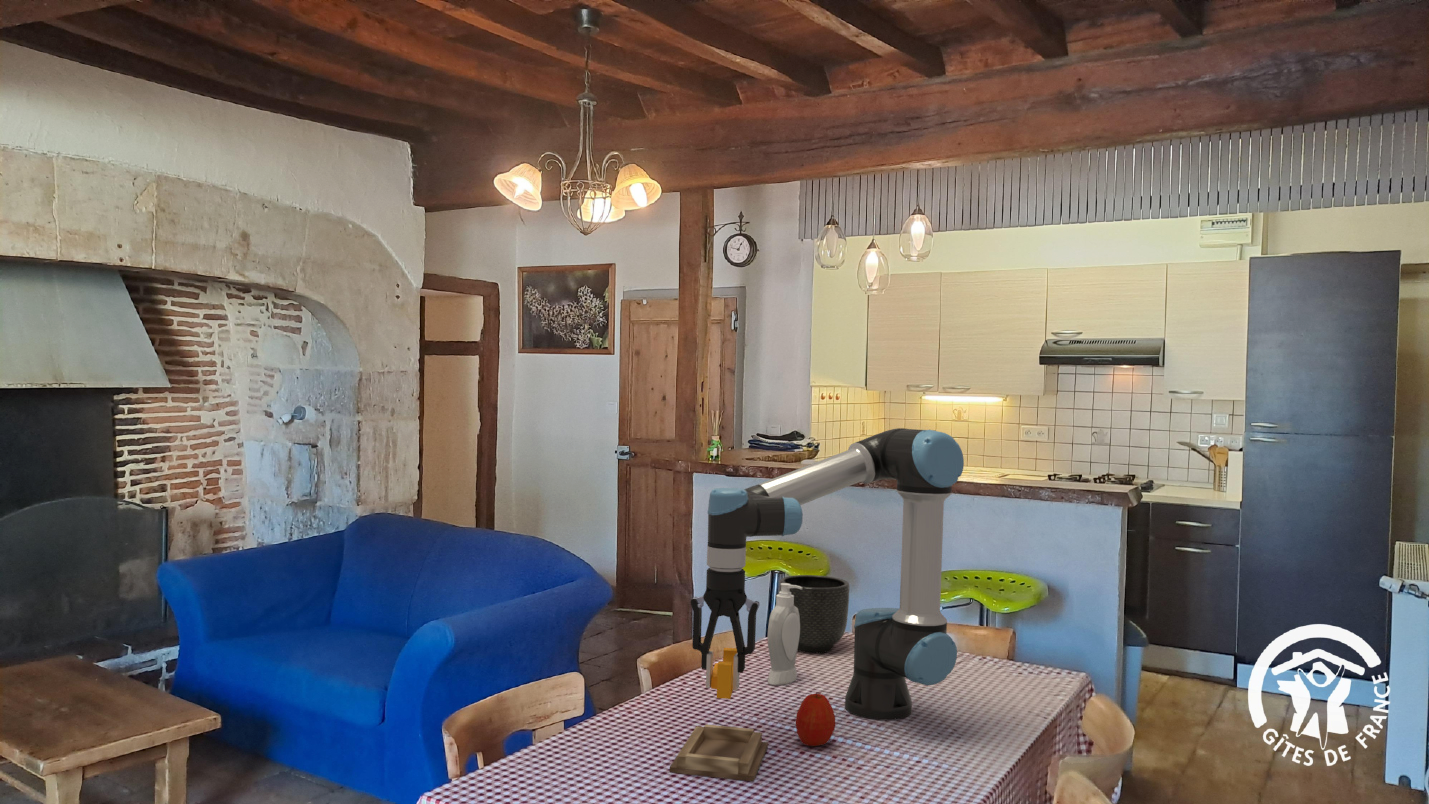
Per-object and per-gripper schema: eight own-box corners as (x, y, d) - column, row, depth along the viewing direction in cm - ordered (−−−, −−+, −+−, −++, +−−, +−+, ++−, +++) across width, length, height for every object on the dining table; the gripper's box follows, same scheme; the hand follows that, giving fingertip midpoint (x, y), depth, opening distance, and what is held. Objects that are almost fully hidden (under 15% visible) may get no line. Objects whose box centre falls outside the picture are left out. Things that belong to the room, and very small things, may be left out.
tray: (767, 747, 197) (768, 730, 197) (753, 781, 179) (754, 763, 179) (691, 739, 200) (691, 722, 200) (669, 772, 182) (670, 754, 182)
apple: (824, 754, 194) (825, 700, 193) (787, 745, 198) (788, 693, 198) (841, 742, 201) (842, 690, 200) (805, 734, 205) (806, 683, 205)
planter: (774, 655, 266) (776, 585, 266) (781, 637, 286) (782, 573, 285) (846, 660, 263) (848, 590, 263) (848, 642, 282) (850, 577, 282)
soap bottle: (783, 691, 234) (786, 590, 234) (758, 684, 239) (761, 585, 239) (814, 680, 244) (817, 583, 244) (789, 673, 249) (792, 578, 249)
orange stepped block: (715, 679, 195) (715, 647, 195) (736, 680, 195) (737, 648, 195) (707, 697, 183) (708, 663, 183) (730, 699, 183) (731, 664, 183)
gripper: (773, 567, 191) (770, 685, 191) (686, 561, 195) (682, 677, 195) (768, 574, 184) (764, 697, 184) (677, 568, 187) (673, 688, 187)
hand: (722, 687), depth 189 cm, fingers closed on orange stepped block, 5 cm apart
